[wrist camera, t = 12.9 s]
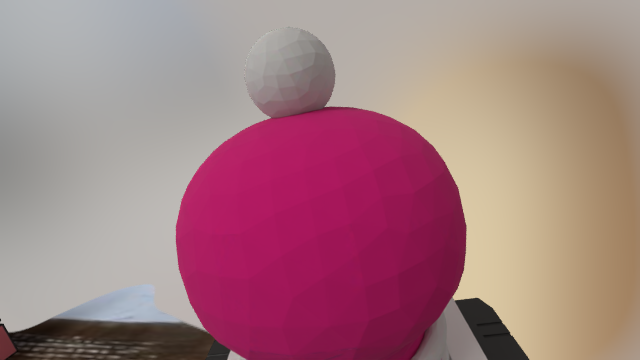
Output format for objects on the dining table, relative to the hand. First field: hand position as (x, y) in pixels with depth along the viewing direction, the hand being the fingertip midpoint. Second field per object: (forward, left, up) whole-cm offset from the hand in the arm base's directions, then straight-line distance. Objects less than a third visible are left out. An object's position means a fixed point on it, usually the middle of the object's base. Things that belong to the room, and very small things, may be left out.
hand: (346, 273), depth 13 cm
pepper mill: (-5, -2, -11) cm, 12 cm away
